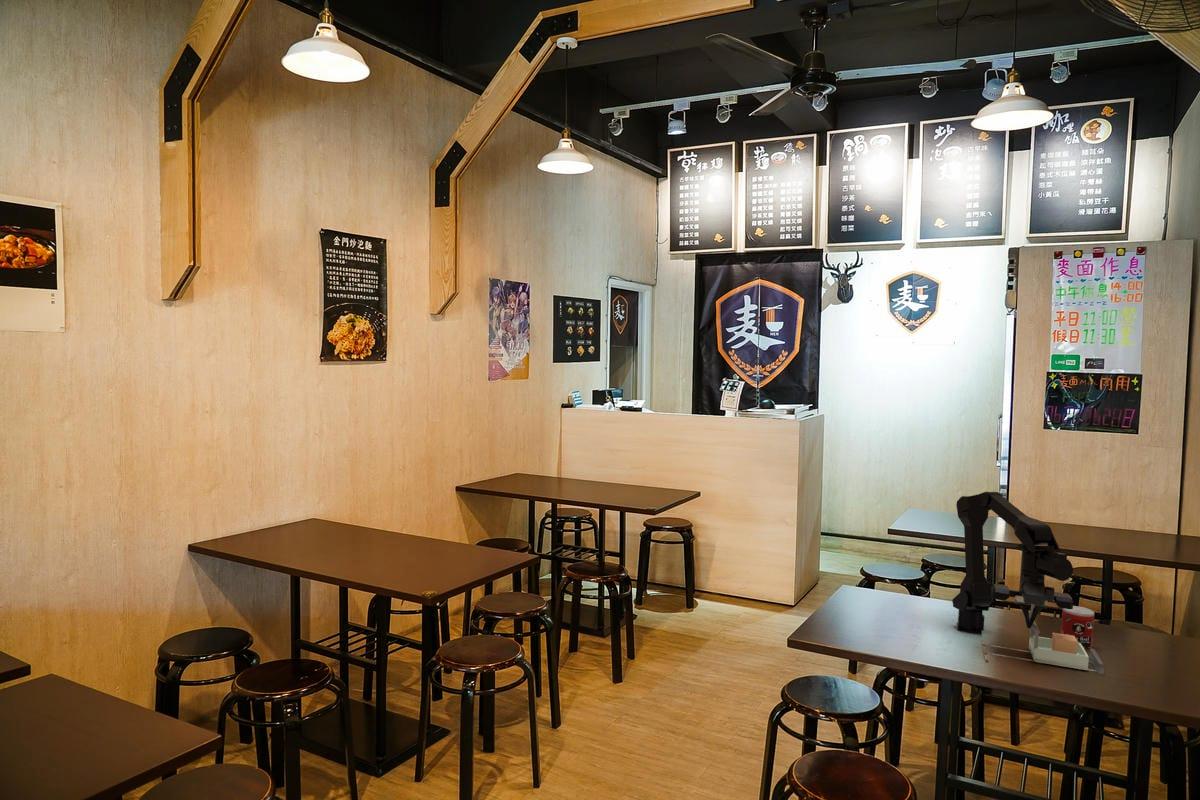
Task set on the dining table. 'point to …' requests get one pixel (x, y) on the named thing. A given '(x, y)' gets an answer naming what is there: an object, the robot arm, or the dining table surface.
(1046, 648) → the tray with handle
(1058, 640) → the block
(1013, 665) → the dining table surface
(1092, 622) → the canned food
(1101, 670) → the track
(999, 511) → the robot arm
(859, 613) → the dining table surface
